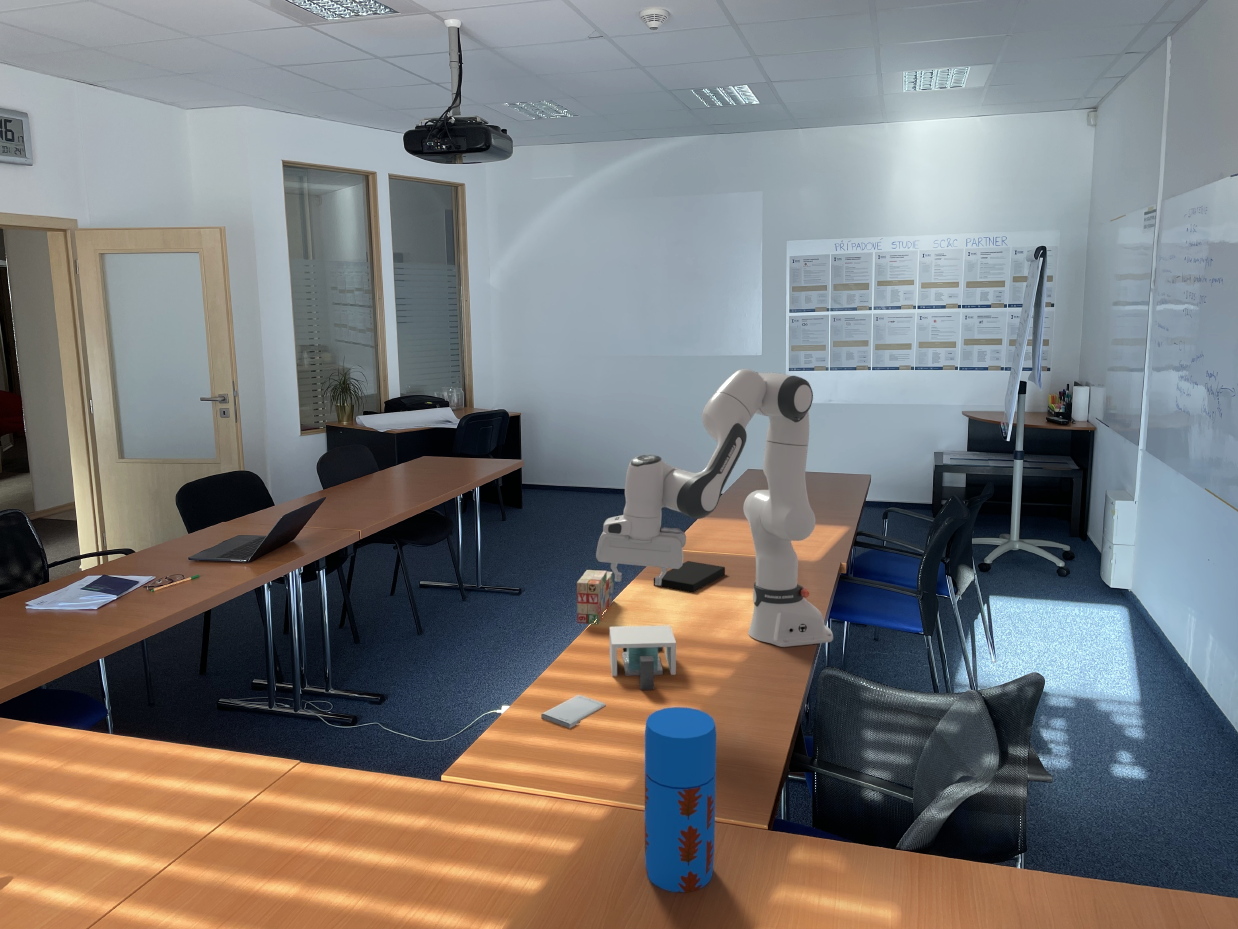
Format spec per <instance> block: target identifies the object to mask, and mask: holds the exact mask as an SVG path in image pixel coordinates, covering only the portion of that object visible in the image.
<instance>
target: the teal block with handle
mask: <svg viewBox="0 0 1238 929" xmlns="http://www.w3.org/2000/svg"><path fill="white" fill-rule="evenodd" d="M621 656H622V663H623V669H624V675H625V676H626V677H627V676H639V689H640V691H654V690H655V687H654V684H655V683H654V681H655V680H654V679H655V677H654V676H658V675H659V676H661V675H663V672H664V670H663V667H662V662H661V659H660V655H659V651H658V647H644V648H627V652H623V651H622V652H621Z"/></svg>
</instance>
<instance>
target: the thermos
mask: <svg viewBox="0 0 1238 929" xmlns="http://www.w3.org/2000/svg"><path fill="white" fill-rule="evenodd" d="M716 771H717V727H716V723H715V721H714V717H712V716H711V715H710V714H708V713H707V712H705V711H702V710H700V709H696V708H691V707H687V706H686V707H679V706H673V707H665V708H662V709H659V710H655V711H654V712H653V713H651V714H649V716H648V717H647V719H646V721H645V728H644V856H645V857H644V858H645V859H644V860H645V862H644V863H645V871H646V876H647V878H648V880H649V881H650V882H651V883H652V884H653V885H655V886H657V887H658V888H660V889H662V890H665V891H669V892H672V893H688V892H695V891H697V890H700V889H702V888H704V887H706V885H707V884H708V883H709V882H711V879H712V876H713V873H714V872H713V871H714V858H715V838H716V836H715V832H716V831H715V830H716V826H715V824H716V823H715V822H716V778H717V776H716V774H717V773H716Z"/></svg>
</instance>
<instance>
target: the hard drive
mask: <svg viewBox="0 0 1238 929" xmlns="http://www.w3.org/2000/svg"><path fill="white" fill-rule="evenodd" d="M604 707H606V703H605V702H602V701H599V700H597V699H594V698H590V697H587V696H584V695H581V694H577V695H575V696H573V697H572V698H570V699H567V700H566V701H564V702H561V703H560V704H557V705H556V706H554V707H552V708H550V709H548V710H546V711H545V712H542V713H540V715H541V716H540V718H541V719H543V720H546V721H548V722H551V723H554V724H557V725H560V726H562V727H565V728H568V729H572V728H573V727H575V726H577V725H578V724H580V723H581V721H582V720H583V719H585V718H587V717H588V716H590V715H592V714H594V713H595V712H598V711H599V710H601V709H602V708H604Z"/></svg>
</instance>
